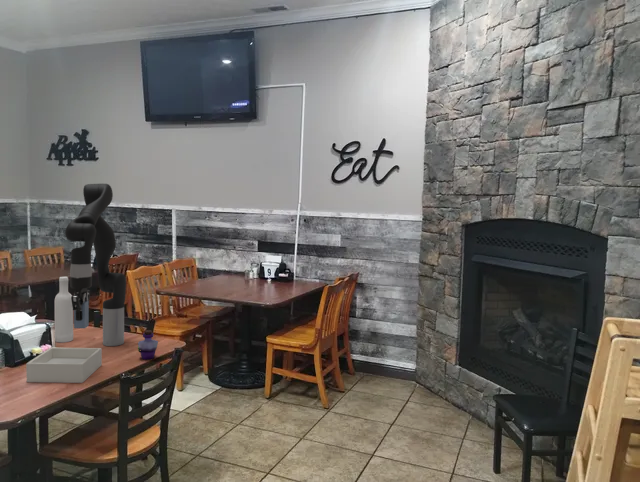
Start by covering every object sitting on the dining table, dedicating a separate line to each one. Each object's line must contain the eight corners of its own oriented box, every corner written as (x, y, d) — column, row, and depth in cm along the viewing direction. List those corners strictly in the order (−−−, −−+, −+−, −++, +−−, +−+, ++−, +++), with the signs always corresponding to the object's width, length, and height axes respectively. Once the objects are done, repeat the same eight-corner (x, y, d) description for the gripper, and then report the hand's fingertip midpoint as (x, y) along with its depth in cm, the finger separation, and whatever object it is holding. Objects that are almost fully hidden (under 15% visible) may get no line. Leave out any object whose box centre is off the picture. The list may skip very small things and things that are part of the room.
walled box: (51, 364, 211) (51, 347, 211) (101, 364, 212) (101, 348, 212) (26, 382, 191) (26, 363, 191) (82, 382, 193) (82, 364, 192)
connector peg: (77, 325, 203) (77, 300, 203) (88, 325, 204) (88, 300, 203) (74, 328, 199) (73, 302, 199) (84, 328, 200) (84, 302, 199)
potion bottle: (135, 356, 225) (135, 329, 224) (155, 353, 229) (155, 327, 228) (140, 362, 218) (140, 334, 216) (160, 359, 222) (161, 331, 221)
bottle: (77, 338, 247) (76, 276, 245) (65, 343, 240) (65, 279, 237) (62, 337, 249) (62, 275, 246) (50, 341, 241) (50, 277, 239)
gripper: (77, 272, 207) (78, 314, 208) (63, 277, 192) (63, 323, 194) (97, 272, 207) (97, 314, 209) (84, 278, 193) (84, 323, 195)
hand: (81, 318), depth 201 cm, fingers closed on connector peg, 4 cm apart
